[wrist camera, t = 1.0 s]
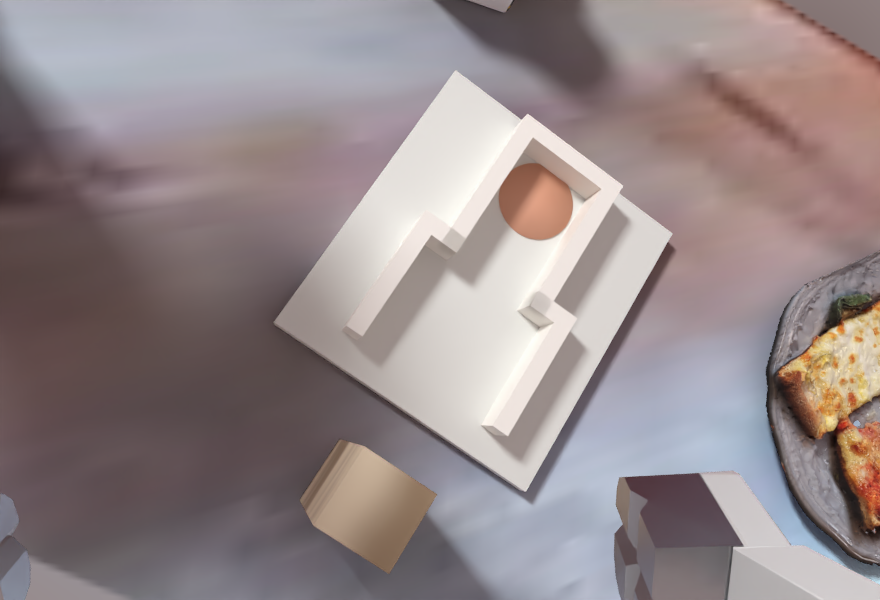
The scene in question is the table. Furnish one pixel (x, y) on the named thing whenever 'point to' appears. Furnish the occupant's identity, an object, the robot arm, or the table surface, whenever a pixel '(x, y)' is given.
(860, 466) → the food plate
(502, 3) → the medicine bottle
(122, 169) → the table surface
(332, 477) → the beech peg
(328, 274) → the keyhole dock
